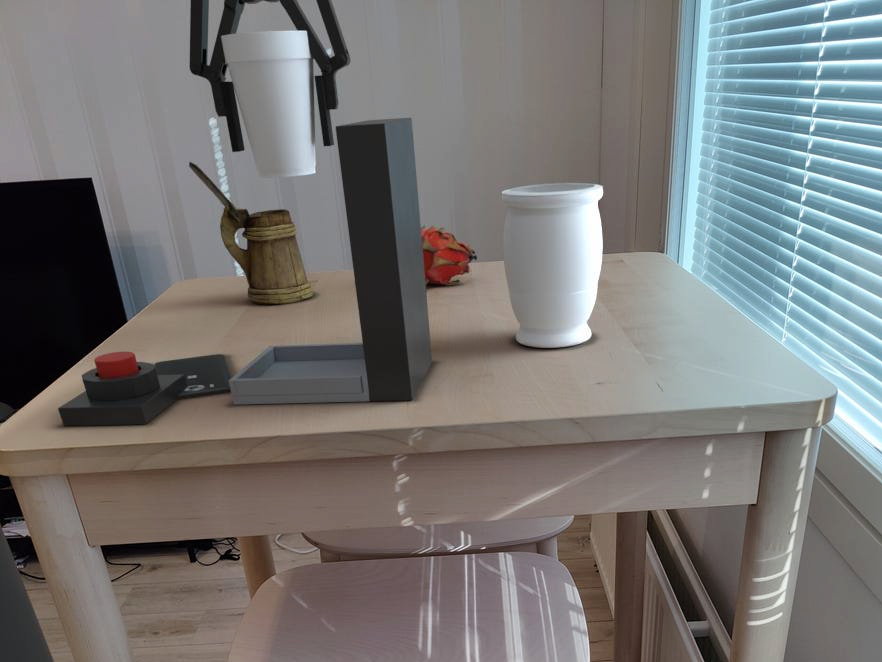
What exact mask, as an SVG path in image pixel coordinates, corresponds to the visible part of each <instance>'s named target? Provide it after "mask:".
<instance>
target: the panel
mask: <svg viewBox="0 0 882 662" xmlns="http://www.w3.org/2000/svg"><path fill="white" fill-rule="evenodd" d="M154 364H155V363H151V362H145V361H137V365H138V369H139V371H138V372H137V373H133V374H130V375H126V376H120V377H113V378H101V377H99V375H98V372H97V368H96V367H95V368H91V369H88V371H86V372H84V373H83V374H81V379H82V384H83V386H84V390H85V391H83V392H81V393H80V394H77V396H75V397H73V398H72V399H70V400H68V401H67V402H66V403H64V404H62V405H60V406H59V407H57V410H58V413H59V416H60V420H61V422H62V425H63V427H79V426H80V427H83V426H87V427H88V426H123V425H124V426H125V425H126V426H128V425H133V426H134V425H147V424H148V423H149V422H151V421H152V420H153V419H155V418H156V417H157V416H159V415H160V414H161V413H162V412H164V411H165V410H166V409H167V408H169V407H170V406H171V405H173V404H174V403H175V402H177V401H179V400H178V395H179V394H180V393H181V392H183V391H184V390H185V389H186V388H187V384H186V380H185V376H184V374H181V375H157V373H156V369H155V366H154Z"/></svg>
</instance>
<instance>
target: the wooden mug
mask: <svg viewBox="0 0 882 662" xmlns="http://www.w3.org/2000/svg"><path fill="white" fill-rule="evenodd" d="M188 167H189V168H190V169H191V171H192V172H193V173H194V174H195V175H196V177H198V179H200V181H201V182H202V183H203V184H204V185H205V186H206V187H207V188H208V189H209V190H210V191H211V192H212V194H213V195H214V196H215V197H216V199H218V200H219V202H220V203H221V204H222V206H223V211H222V215H221V217H220V224H219V228H220V237H221V240H222V243H223V245H224V247H225V248H226V250H227V251H228V253H229V254H230V256H231V257H232V258H233V259H234V261H235V262H236V263H237V265H239V267H240V268H241V270H242V272H244V274H245V278H246V282H247V284H248V287H247V298H248V300H249V301H251V303H253V304H257V305H283V304H290V303H297V302H300V301H304V300H307V299H309V298H311V297H312V296H314V292H313V289H312V285H311V283H310V281H308V277H307V273H306V269H305V266H304V263H303V262H304V261H303V259H302V255H301V251H300V249H299V244H298V241H297V237H296V235H297V234H298V232H297V228H296V225H295V222H294V221H292V217H291V213H290V211H289V210H288V209H285V208H280V209H269V210H262V211H256V212H254V213H251V214H250V213H249V211H248V209H247V208H239V207H238V208H237V207H236V206H235V205H234V204H233V202H232V201H231V200H229V198H228V197H227V196H226V195H225V194H224V193H223V192H222V191H221V189H220V188H219V187H217V185H216V183H214V181H212V179H210V177H209V176H208V175H207V174H206V173H205V171H203V170H202V169H201V168H200V166H199V165H197V164H195V163H194V162H192V161H189V163H188ZM240 229H244V230H243V232H242V233H241V236H242V237H243V238H245V239H246V248H241V247H240V246H239V244H238V243H237V242H236V241H237V240H236V234H237V231H238V230H240Z"/></svg>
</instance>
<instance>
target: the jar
mask: <svg viewBox="0 0 882 662" xmlns="http://www.w3.org/2000/svg"><path fill="white" fill-rule="evenodd" d="M603 188H604V185H602V184H597V183H590V182H589V183H588V182H555V183H554V182H552V183H539V184H530V185H523V186H515V187H512V188H509V189H505V190H503V191H501V193H502V194H501V202H502V203H503V204H504V205H505V206H506V207H507V212H506V214H505V215H506V216H505V220H504V226H503V239H502V240H503V241H502V244H503V245H502V254H503V267H504V273H505V279H506V285H507V288H508V293H509V294H508V295H509V296H508V297H509V300H510V305H511V309H512V312H513V314H514V316H515V319H516V321H517V322H518V323H519V328H518V330H517V332H516V334H515V340H516V342H518V343H519V344H521V345H523V346H527V347H532V348H542V349H553V348H554V349H556V348H565V347H571V346H577V345H579V344H583V343H585V342H587V341H588V340H590V339H591V337H592V331H591V328H590V326H589V325H588V320H589V319H590V317H591V315H592V312H593V309H594V306H595V304H596V300H597V294H598V286H599V285H598V284H599V283H598V282H599V279H600V275H601V270H602V262H603V247H604V246H603V229H602V219H601V214H600V210H599V205H598V204H599V201H600V200H601V199H602V197H603V195H604V189H603Z"/></svg>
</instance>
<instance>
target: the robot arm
mask: <svg viewBox="0 0 882 662" xmlns="http://www.w3.org/2000/svg"><path fill="white" fill-rule="evenodd" d="M315 1H316V4H317V7H318V10H319V13H320V16H321V19H322V21H323V25H324V28H325V30H326V31H325V32H326V33H327V36H328V39H329V42H330V45H331V49H332V51H333V52H332V53H333V54H334V55H333V56H331V57H330V56H329V54H328V52H327V50H326V49H325V47H324V45H323V43H322V42H321V40H320V38H319V37H318V34H317V33H316V31H315V30H314V27H313V26H312V25H311V22H310V21H309V19H308V17H307V16H306V14H305V12H304V10H303V9H302V7H301V6H300V4H299V1H298V0H224V1H223V10H222V14H221V18H220V21H219V25H218V30H217V34H216V38H215V42H214V45H213V50H212V54H211V59H210V62H209V64H208V56H209V55H208V51H209V17H210V16H209V13H210V0H190V13H189V14H190V15H189V16H190V18H189V71H190V73H191V74H192V75H194V76H198V77H201V78H203V79H206V80H207V81H208V82H209V84H210V88H211V93H212V97H213V98H212V99H213V104H214V109H215V113H216V115H217V116H218V117H220V118H221V117H222V118H223V117H225V120H226V126H227V130H228V135H229V141H230V146H231V152H232V153H240V152H243V151H246V149H245V143H244V138H243V131H242V126H241V121H240V115H239V114H240V113H239V108H238V102H237V96H236V93H235V89H234V86H233V82H232V81H227V77H226V74H227V70H228V64H225V56H224V50H223V44H222V39H221V36H223V35H229V34H237V32H238V27H239V24H240V21H241V16H242V14H243V12H244V10H245V5H246V4H248V5H255V4H258V3H260V2H267V3H278V2H279V3H280V4H281V6H282V8H283V9H284V10H285V12H286V14H287V15H288V17H289V19H290V21H291V22H292V24H293V25H294V27H295V29H296V31H307V36H308V44H309V51H310V53H311V54H312V56H313V58H314V59H313V60H314V61H315V63H316V65H317V67H318V68H319V69H320V72H321V74H320V75H314V85H315V91H316V100H317V106H318V114H319V121H320V129H321V135H322V144H323V147H332V146H334V145H335V142H334V134H333V133H334V132H333V126H332V119H331V110H332V111H333V110H338V108H339V104H340V103H339V95H338V86H337V79H336V77H337V76H336V75H337V73H338V72H339V70H341V69H344V68H346V67H348V66H349V65H350V64H351V62H352V61H351V56H350V52H349V50H348V47H347V45H346V44H347V43H346V40H345V37H344V34H343V31H342V28H341V25H340V22H339V19H338V17H337V13H336V10H335V8H334V5H333V2H332V1H333V0H315Z"/></svg>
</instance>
